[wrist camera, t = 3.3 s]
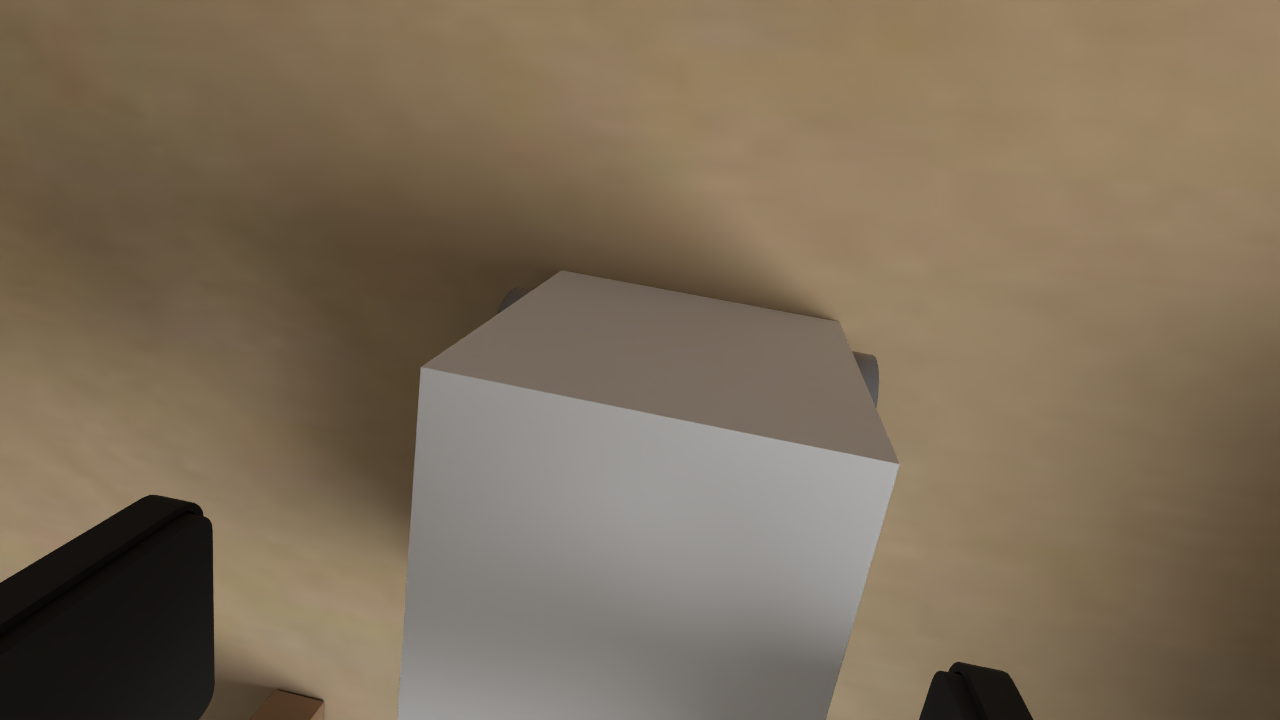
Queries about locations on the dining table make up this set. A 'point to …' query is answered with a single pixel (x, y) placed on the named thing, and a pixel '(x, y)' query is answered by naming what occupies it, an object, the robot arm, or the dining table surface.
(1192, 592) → the dining table surface
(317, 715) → the bay
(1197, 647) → the dining table surface
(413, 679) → the block
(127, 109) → the dining table surface
